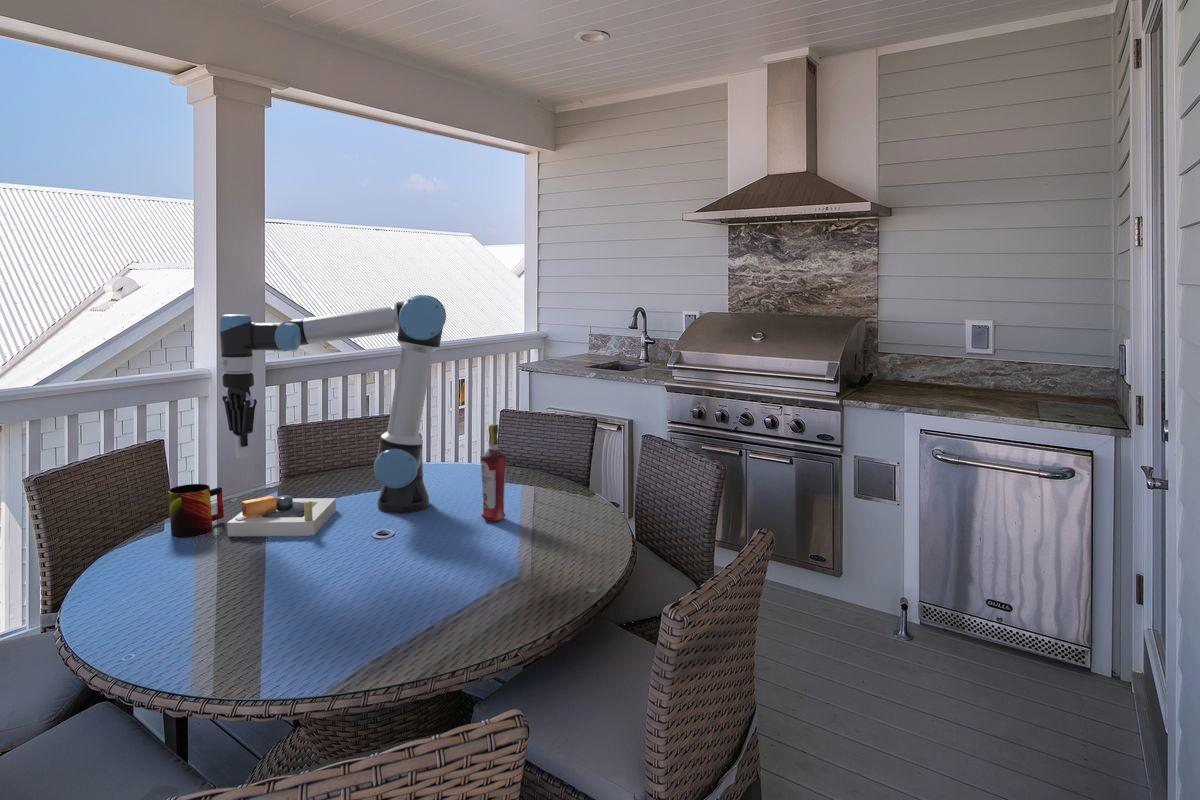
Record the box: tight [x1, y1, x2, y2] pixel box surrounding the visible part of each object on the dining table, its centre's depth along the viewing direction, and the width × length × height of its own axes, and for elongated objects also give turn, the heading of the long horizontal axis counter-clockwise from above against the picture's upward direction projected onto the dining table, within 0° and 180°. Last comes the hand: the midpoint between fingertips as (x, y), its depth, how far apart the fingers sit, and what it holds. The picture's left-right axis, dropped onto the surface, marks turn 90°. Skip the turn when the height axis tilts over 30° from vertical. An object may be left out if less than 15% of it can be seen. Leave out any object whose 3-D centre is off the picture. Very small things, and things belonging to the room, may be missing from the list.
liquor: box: [480, 423, 507, 523], centre depth 205 cm, size 7×7×28 cm
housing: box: [226, 497, 337, 537], centre depth 201 cm, size 22×22×9 cm
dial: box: [241, 495, 304, 518], centre depth 199 cm, size 17×12×6 cm
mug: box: [167, 483, 225, 539], centre depth 194 cm, size 10×14×12 cm
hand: (242, 457), depth 196 cm, fingers closed
